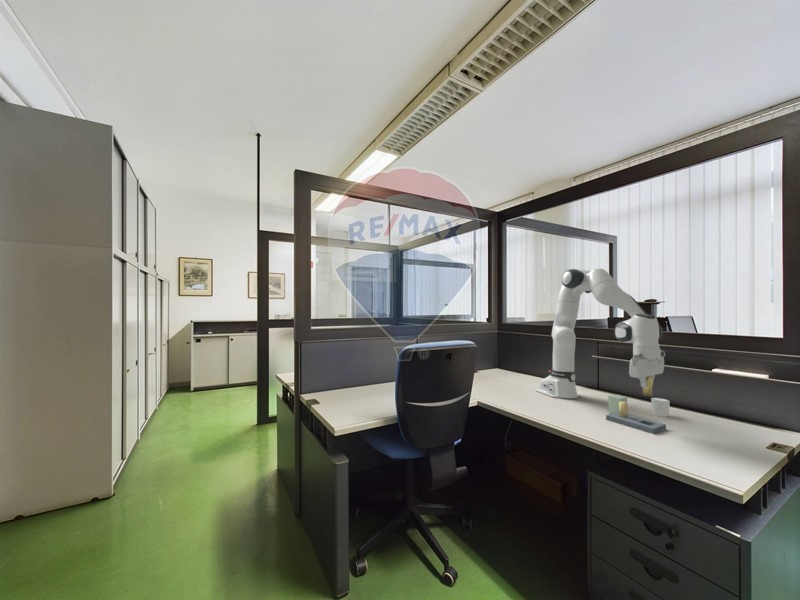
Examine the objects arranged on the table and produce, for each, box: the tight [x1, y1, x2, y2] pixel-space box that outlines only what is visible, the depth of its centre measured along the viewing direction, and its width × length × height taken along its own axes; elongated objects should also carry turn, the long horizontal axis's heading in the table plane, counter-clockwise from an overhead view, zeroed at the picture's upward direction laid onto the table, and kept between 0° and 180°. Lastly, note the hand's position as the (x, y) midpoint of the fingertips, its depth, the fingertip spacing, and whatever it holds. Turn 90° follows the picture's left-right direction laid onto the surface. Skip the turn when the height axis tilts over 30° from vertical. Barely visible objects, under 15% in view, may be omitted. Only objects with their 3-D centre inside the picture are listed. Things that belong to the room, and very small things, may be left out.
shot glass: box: [650, 397, 671, 418], centre depth 149 cm, size 7×7×7 cm
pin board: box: [605, 402, 667, 435], centre depth 137 cm, size 18×10×8 cm, turn 28°
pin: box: [642, 376, 653, 397], centre depth 133 cm, size 3×3×8 cm
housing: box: [608, 394, 628, 414], centre depth 151 cm, size 5×5×8 cm
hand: (647, 386), depth 134 cm, fingers closed on pin, 3 cm apart
